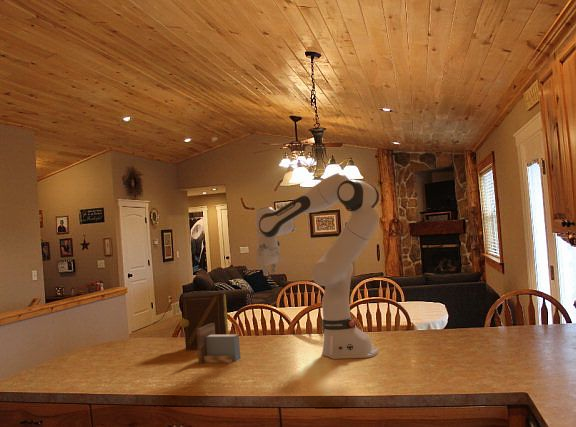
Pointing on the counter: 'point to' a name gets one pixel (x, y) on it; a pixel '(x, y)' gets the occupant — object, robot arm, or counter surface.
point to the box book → (223, 346)
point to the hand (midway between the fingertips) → (269, 274)
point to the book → (203, 315)
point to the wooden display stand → (202, 348)
